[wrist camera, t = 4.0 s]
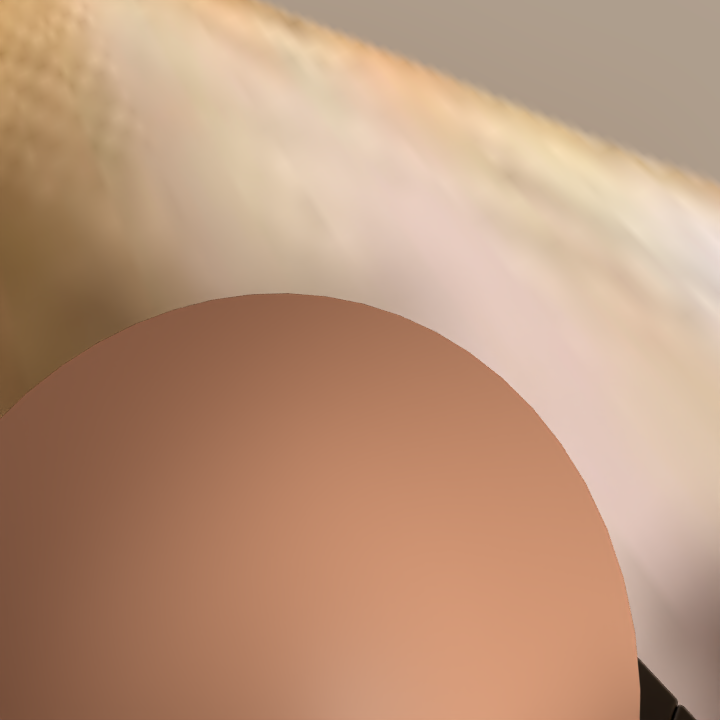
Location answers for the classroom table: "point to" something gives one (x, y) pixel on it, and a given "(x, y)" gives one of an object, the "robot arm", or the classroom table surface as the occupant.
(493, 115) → the classroom table surface
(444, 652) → the terracotta pin
